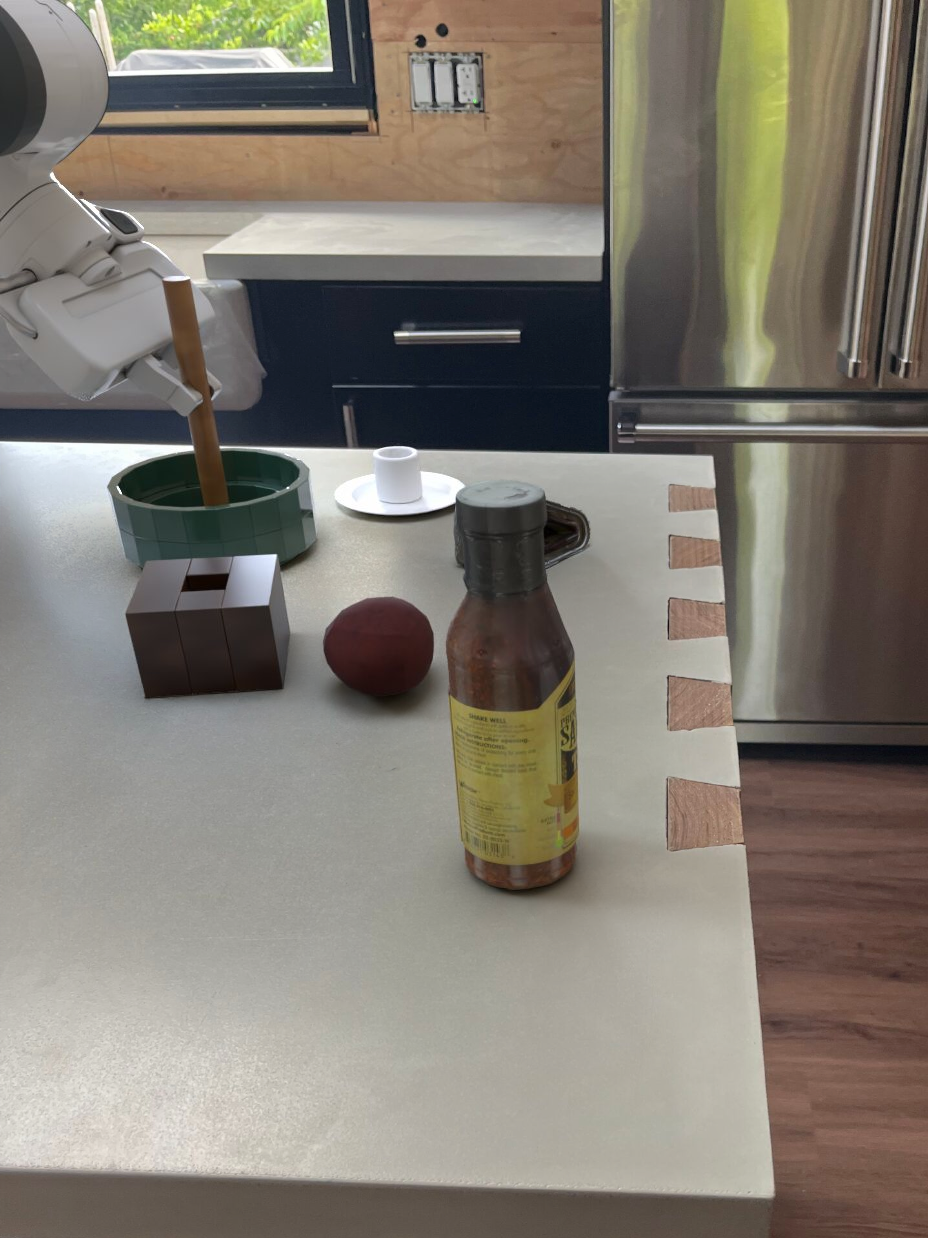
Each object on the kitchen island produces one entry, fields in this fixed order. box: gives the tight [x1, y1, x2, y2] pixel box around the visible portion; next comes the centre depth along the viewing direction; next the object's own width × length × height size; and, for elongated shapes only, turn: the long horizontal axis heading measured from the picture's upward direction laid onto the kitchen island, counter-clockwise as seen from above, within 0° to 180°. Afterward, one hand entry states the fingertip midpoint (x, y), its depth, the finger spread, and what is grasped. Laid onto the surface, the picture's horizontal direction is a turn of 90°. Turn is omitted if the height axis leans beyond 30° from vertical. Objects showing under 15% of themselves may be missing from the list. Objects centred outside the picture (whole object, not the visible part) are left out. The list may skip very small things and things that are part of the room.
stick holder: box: [124, 554, 291, 699], centre depth 80 cm, size 9×9×6 cm
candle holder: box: [334, 445, 466, 516], centre depth 108 cm, size 12×12×4 cm
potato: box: [322, 596, 435, 697], centre depth 77 cm, size 7×8×6 cm
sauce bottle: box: [445, 479, 580, 891], centre depth 58 cm, size 6×6×20 cm
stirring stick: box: [162, 275, 230, 507], centre depth 93 cm, size 2×2×20 cm
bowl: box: [106, 447, 318, 569], centre depth 97 cm, size 16×16×6 cm
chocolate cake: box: [453, 499, 591, 569], centre depth 97 cm, size 10×7×12 cm
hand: (205, 402), depth 92 cm, fingers closed
